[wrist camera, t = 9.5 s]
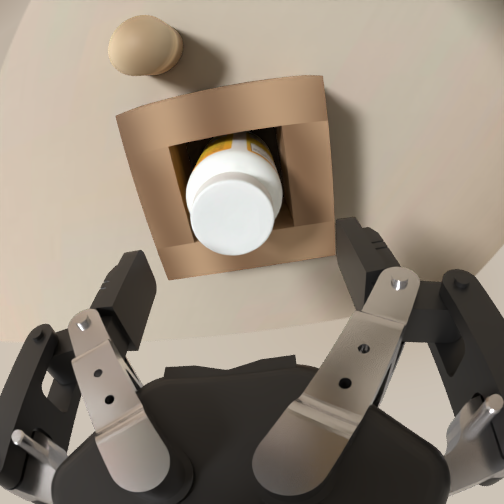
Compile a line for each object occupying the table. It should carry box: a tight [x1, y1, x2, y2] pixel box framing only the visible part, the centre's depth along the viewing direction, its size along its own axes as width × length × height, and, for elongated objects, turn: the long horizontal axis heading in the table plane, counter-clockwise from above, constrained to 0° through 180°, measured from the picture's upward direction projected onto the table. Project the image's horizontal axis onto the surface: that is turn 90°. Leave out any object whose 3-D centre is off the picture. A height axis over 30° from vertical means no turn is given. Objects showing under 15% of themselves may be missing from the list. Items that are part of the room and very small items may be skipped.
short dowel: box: [108, 15, 183, 76], centre depth 16 cm, size 4×4×4 cm
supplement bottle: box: [186, 131, 282, 256], centre depth 19 cm, size 5×5×10 cm
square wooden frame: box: [116, 75, 335, 280], centre depth 20 cm, size 12×12×5 cm
